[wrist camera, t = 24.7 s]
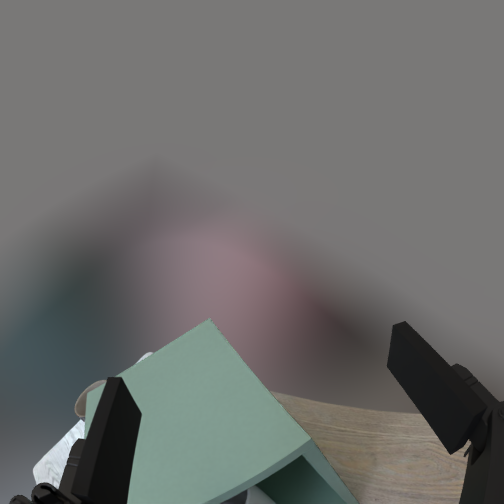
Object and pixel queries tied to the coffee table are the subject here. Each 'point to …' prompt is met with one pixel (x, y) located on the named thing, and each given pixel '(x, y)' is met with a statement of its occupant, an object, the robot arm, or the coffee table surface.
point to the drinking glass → (250, 497)
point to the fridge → (216, 431)
